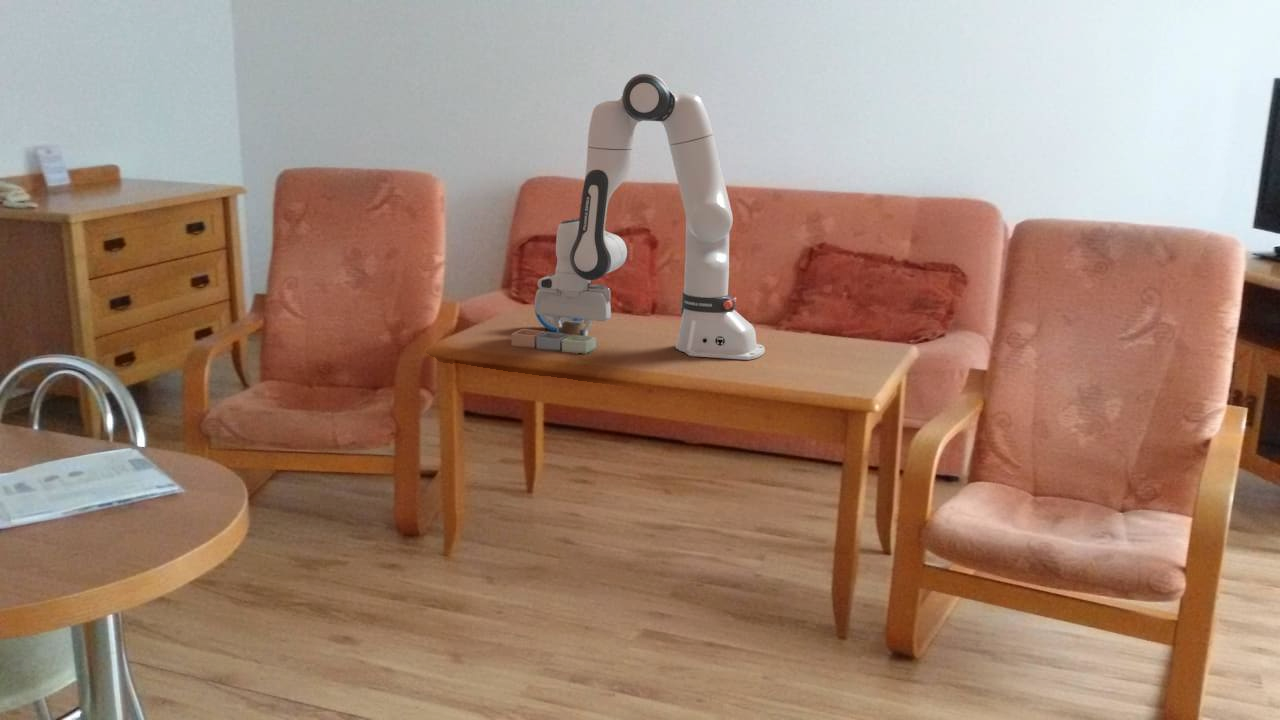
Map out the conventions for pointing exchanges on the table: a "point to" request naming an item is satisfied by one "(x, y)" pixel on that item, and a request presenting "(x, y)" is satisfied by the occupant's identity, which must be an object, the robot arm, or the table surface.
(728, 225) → the robot arm
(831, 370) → the table surface
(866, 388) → the table surface
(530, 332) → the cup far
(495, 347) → the table surface
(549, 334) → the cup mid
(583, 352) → the pale green square tray
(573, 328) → the brown block
